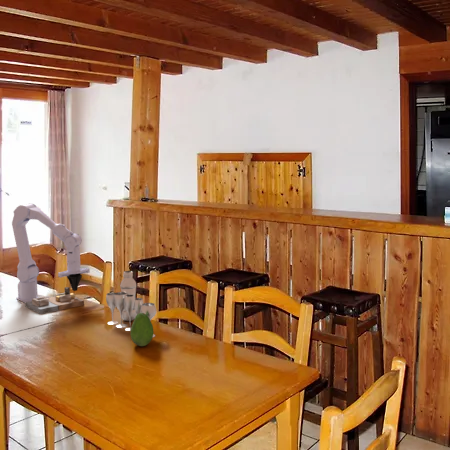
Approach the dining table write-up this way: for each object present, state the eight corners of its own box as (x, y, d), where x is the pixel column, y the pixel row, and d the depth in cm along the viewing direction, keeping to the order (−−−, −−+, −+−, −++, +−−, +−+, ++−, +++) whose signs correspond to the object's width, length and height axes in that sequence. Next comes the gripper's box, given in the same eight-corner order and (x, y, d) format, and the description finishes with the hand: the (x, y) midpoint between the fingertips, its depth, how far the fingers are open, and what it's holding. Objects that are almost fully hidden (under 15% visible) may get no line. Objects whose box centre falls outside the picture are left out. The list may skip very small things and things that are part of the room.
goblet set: (103, 323, 219) (102, 290, 217) (115, 320, 223) (114, 288, 221) (147, 339, 200) (146, 304, 198) (159, 336, 204) (159, 301, 202)
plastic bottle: (139, 317, 225) (138, 270, 223) (134, 323, 219) (133, 273, 216) (123, 317, 226) (122, 269, 223) (119, 322, 219) (117, 273, 217)
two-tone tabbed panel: (67, 298, 256) (67, 289, 255) (84, 304, 245) (83, 295, 244) (25, 306, 242) (24, 297, 241) (40, 314, 231) (39, 303, 230)
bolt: (72, 296, 250) (71, 286, 249) (74, 297, 248) (74, 287, 248) (55, 300, 245) (55, 289, 244) (58, 301, 243) (57, 290, 242)
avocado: (143, 351, 188) (142, 317, 186) (126, 346, 192) (125, 313, 191) (158, 344, 195) (157, 311, 193) (141, 340, 199) (140, 308, 197)
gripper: (63, 264, 240) (64, 294, 242) (92, 260, 250) (93, 289, 251) (55, 262, 245) (56, 292, 247) (84, 257, 255) (85, 286, 257)
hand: (74, 290), depth 249 cm, fingers closed
